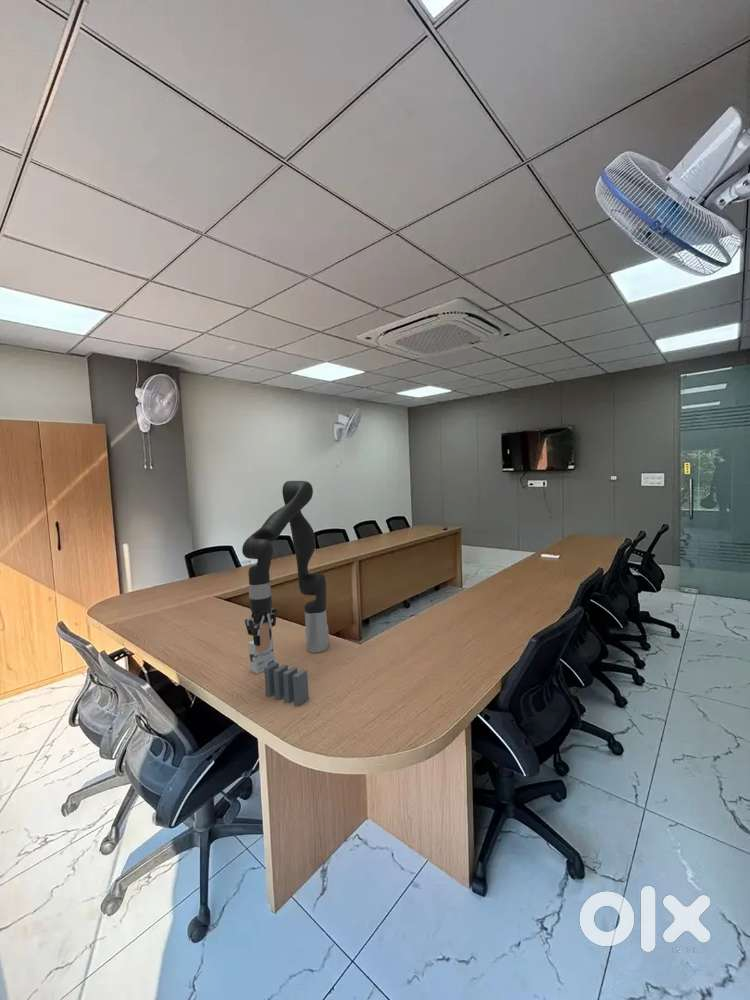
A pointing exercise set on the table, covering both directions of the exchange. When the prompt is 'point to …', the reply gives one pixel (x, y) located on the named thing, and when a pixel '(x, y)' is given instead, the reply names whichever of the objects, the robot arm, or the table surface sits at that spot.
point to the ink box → (260, 657)
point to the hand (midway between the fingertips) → (263, 642)
